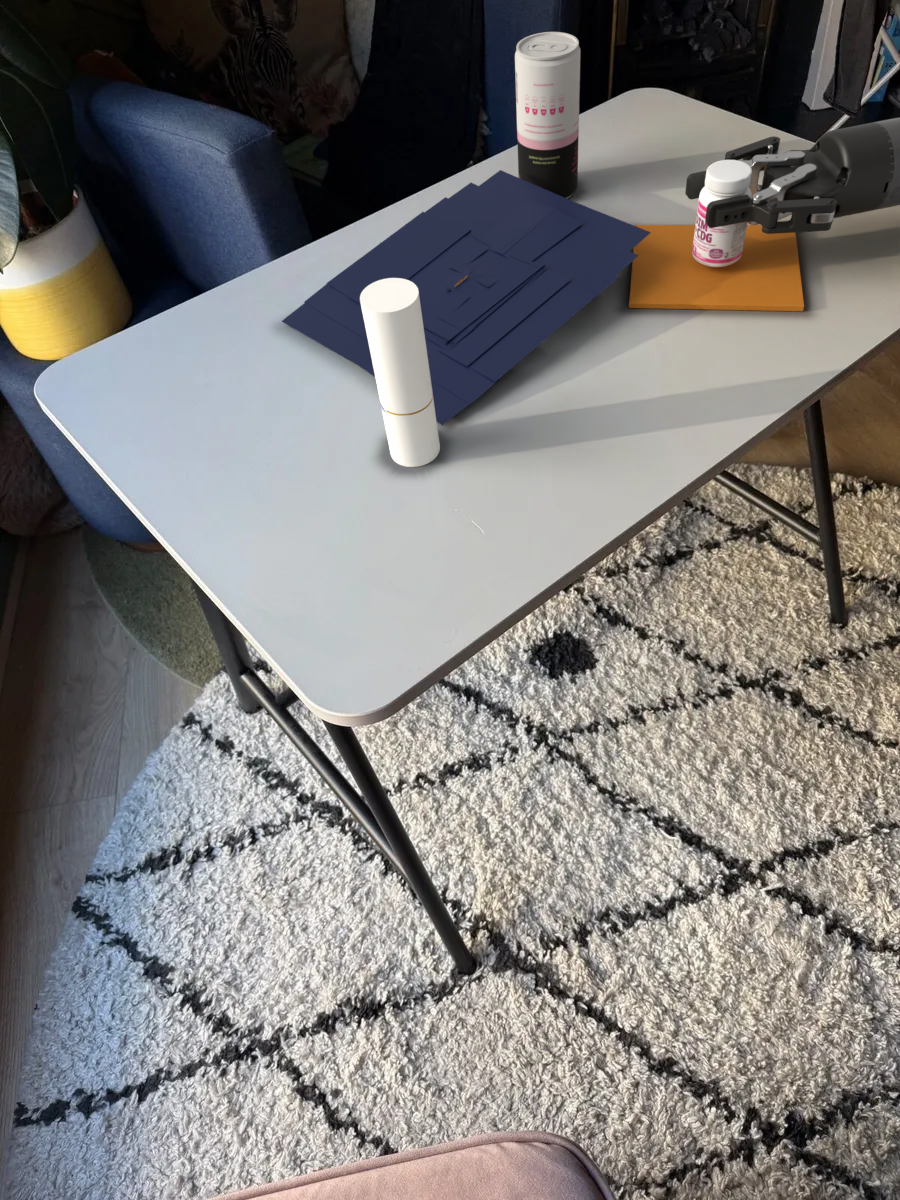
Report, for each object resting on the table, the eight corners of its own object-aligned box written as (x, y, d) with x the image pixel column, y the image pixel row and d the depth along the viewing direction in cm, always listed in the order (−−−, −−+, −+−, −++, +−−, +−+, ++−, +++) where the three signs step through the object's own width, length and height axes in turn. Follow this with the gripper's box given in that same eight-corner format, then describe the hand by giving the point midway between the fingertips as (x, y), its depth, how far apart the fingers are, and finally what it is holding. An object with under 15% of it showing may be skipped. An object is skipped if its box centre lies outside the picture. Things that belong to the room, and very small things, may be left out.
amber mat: (793, 230, 90) (794, 224, 89) (803, 311, 81) (804, 306, 81) (634, 229, 92) (635, 224, 92) (628, 308, 84) (629, 302, 84)
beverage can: (528, 174, 102) (525, 29, 90) (583, 179, 100) (587, 32, 88) (511, 203, 98) (506, 56, 86) (568, 208, 96) (571, 59, 84)
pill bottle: (682, 259, 86) (691, 174, 79) (708, 237, 88) (719, 152, 81) (725, 274, 84) (739, 187, 77) (751, 250, 86) (766, 164, 79)
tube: (450, 446, 75) (430, 290, 63) (415, 474, 73) (388, 319, 61) (415, 425, 77) (389, 271, 65) (380, 452, 75) (347, 298, 63)
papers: (666, 263, 86) (667, 230, 83) (450, 448, 78) (442, 419, 75) (491, 188, 98) (486, 157, 95) (288, 341, 90) (276, 312, 87)
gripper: (849, 92, 83) (675, 126, 82) (926, 161, 74) (732, 199, 74) (830, 171, 89) (667, 202, 88) (899, 243, 80) (719, 279, 80)
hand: (698, 201), depth 81 cm, fingers closed on pill bottle, 4 cm apart
